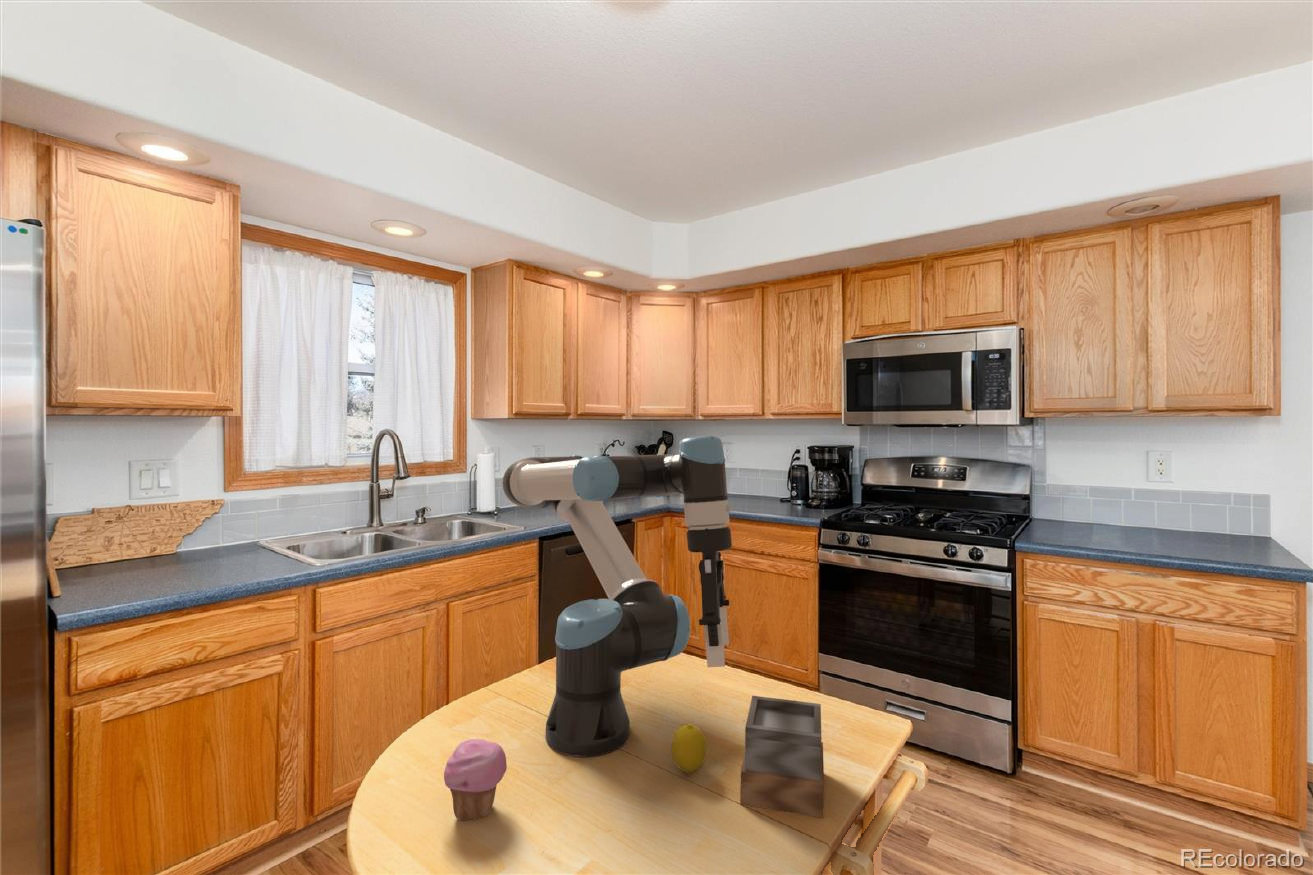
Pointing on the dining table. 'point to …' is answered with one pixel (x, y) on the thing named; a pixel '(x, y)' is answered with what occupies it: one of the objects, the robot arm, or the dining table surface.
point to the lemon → (689, 748)
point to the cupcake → (474, 777)
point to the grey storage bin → (783, 757)
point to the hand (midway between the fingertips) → (719, 655)
